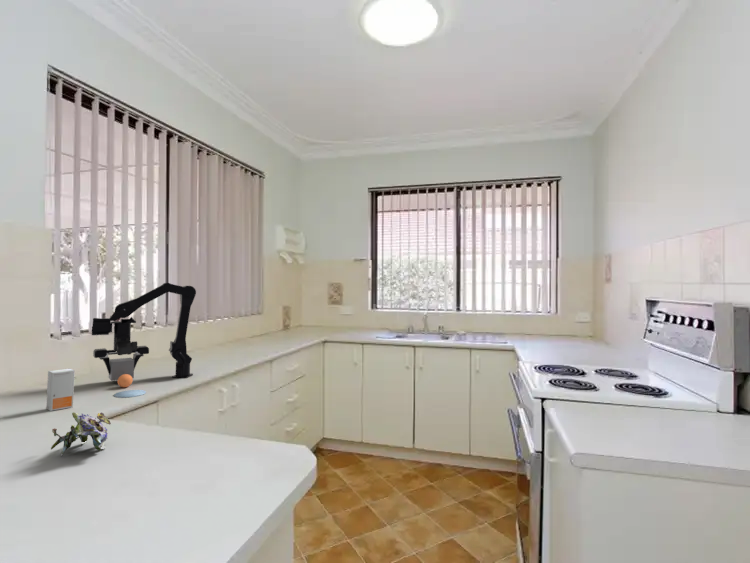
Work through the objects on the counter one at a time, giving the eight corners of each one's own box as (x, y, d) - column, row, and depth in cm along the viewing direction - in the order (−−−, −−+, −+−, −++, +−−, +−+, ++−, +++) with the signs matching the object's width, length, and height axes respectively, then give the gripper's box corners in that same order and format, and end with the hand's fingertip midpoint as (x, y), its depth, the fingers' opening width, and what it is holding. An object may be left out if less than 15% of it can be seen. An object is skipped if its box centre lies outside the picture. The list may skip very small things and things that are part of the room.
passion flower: (100, 472, 97) (115, 438, 94) (42, 477, 90) (57, 440, 87) (100, 434, 105) (115, 401, 102) (48, 435, 98) (61, 400, 94)
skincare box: (50, 411, 125) (51, 372, 126) (46, 409, 128) (47, 370, 128) (73, 407, 130) (74, 369, 130) (69, 404, 133) (70, 368, 133)
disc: (125, 390, 152) (125, 389, 152) (151, 390, 152) (151, 390, 152) (107, 397, 142) (107, 396, 142) (135, 397, 142) (135, 397, 142)
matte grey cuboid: (108, 377, 165) (109, 359, 165) (130, 374, 170) (130, 357, 170) (111, 380, 159) (111, 362, 159) (133, 378, 164) (134, 360, 164)
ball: (122, 385, 159) (122, 372, 159) (135, 385, 159) (135, 373, 159) (114, 388, 154) (114, 375, 154) (127, 389, 154) (127, 375, 154)
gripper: (96, 337, 153) (95, 379, 153) (152, 334, 165) (151, 373, 164) (93, 334, 161) (92, 374, 161) (146, 332, 173) (145, 368, 173)
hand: (121, 372), depth 165 cm, fingers closed on matte grey cuboid, 8 cm apart
